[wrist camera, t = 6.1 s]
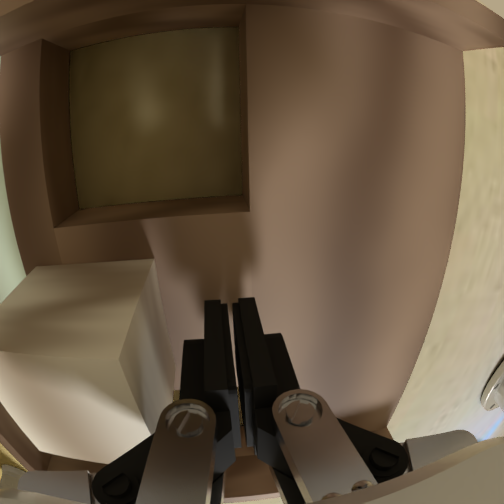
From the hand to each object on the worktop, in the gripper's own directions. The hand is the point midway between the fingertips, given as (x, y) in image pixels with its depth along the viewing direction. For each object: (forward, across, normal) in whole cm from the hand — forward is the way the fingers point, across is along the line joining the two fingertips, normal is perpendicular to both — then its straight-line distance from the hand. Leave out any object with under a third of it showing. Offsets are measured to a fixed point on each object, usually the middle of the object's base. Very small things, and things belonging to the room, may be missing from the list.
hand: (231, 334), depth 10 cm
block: (+1, +5, 0) cm, 5 cm away
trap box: (+4, +2, 0) cm, 4 cm away
